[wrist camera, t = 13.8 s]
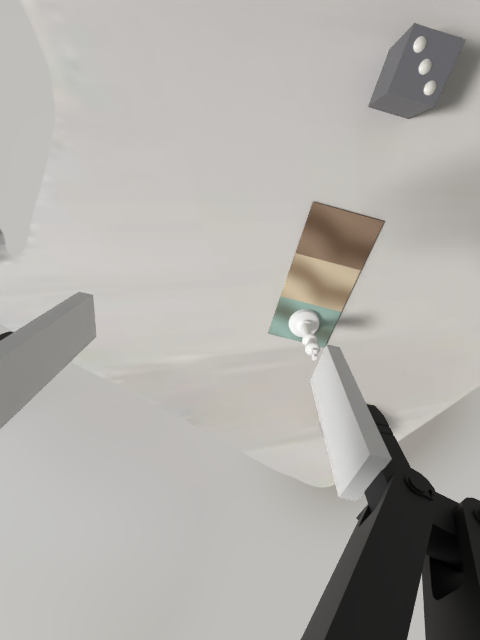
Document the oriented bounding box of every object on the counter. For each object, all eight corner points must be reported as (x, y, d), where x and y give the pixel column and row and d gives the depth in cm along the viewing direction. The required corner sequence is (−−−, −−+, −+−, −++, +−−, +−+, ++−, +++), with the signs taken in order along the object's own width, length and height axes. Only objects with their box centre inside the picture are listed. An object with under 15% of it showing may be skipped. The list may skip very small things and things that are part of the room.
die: (389, 49, 28) (415, 22, 23) (433, 63, 28) (467, 39, 24) (368, 106, 30) (387, 92, 26) (409, 119, 30) (435, 106, 26)
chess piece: (320, 308, 42) (337, 341, 33) (317, 335, 44) (332, 373, 35) (289, 309, 42) (297, 341, 33) (287, 335, 44) (295, 372, 35)
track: (313, 201, 35) (313, 202, 35) (382, 221, 36) (383, 221, 35) (268, 332, 44) (268, 333, 44) (323, 346, 45) (324, 347, 45)
